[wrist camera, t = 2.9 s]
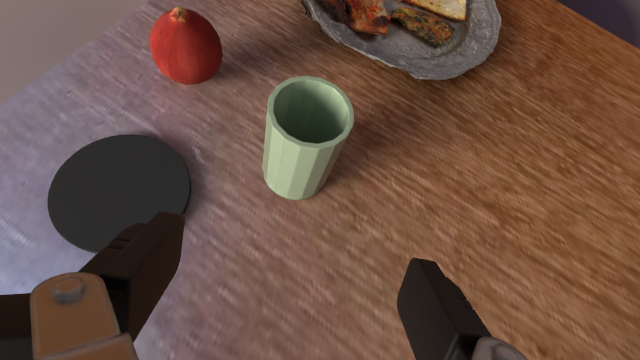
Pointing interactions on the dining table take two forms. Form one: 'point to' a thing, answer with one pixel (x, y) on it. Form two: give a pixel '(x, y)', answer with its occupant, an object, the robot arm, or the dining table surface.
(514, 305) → the dining table surface
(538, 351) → the dining table surface
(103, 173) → the coaster
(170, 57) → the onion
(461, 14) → the food plate
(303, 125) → the cup
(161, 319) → the dining table surface
